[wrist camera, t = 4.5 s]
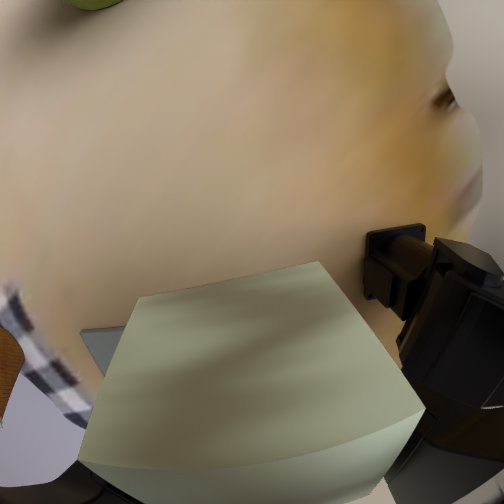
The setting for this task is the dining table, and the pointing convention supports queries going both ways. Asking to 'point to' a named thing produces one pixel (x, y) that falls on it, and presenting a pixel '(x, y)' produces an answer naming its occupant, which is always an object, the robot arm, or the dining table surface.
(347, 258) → the dining table surface
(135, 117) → the dining table surface
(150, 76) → the dining table surface
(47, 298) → the dining table surface
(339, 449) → the sage block
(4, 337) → the disposable coffee cup
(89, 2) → the plant pot
